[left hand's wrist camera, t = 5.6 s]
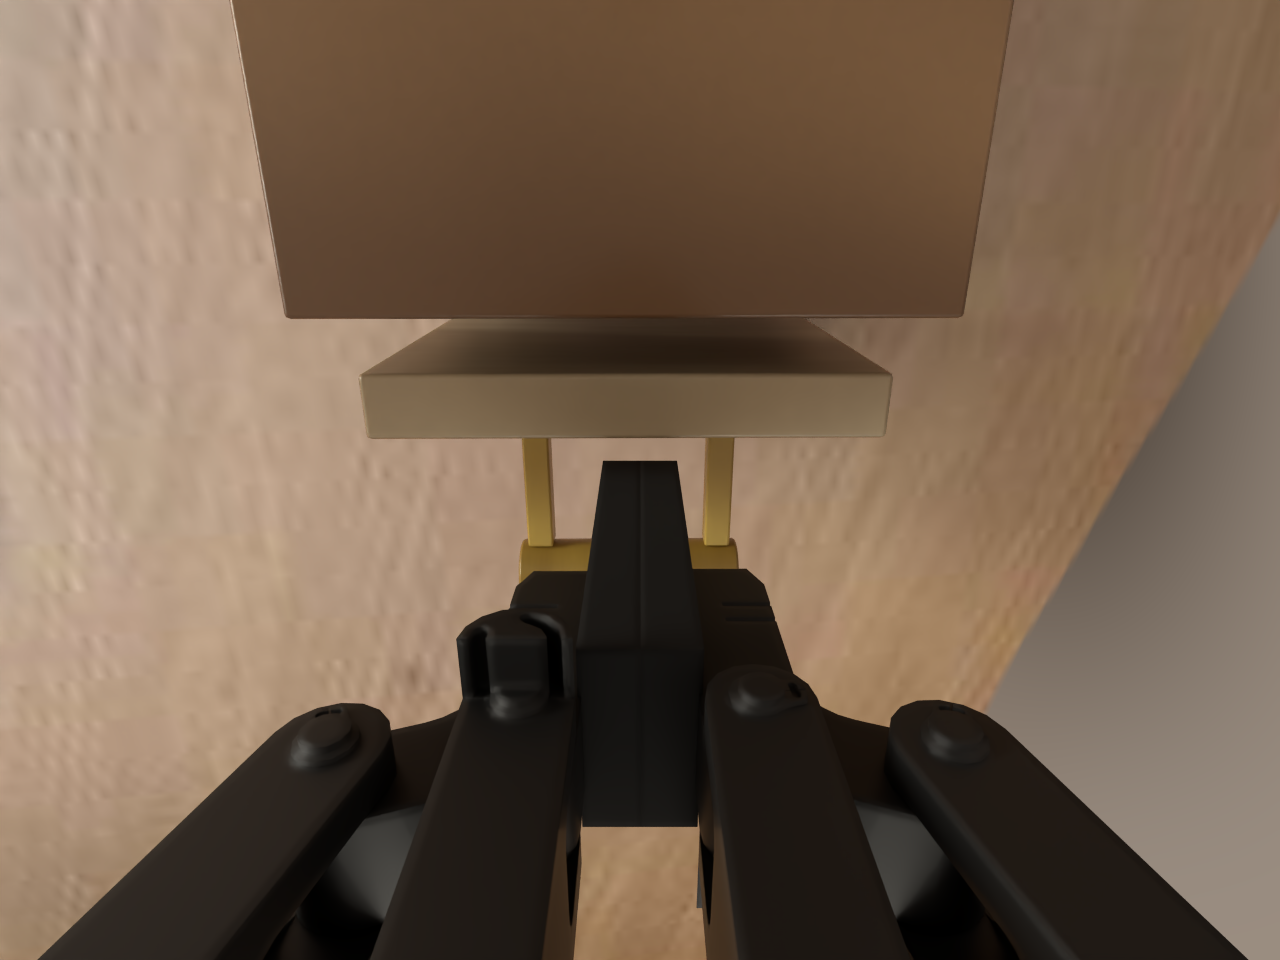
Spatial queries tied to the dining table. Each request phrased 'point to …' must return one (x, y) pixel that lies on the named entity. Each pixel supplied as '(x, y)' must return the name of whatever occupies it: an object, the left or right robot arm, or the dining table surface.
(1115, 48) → the dining table surface
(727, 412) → the drawer
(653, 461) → the left robot arm
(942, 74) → the cabinet
